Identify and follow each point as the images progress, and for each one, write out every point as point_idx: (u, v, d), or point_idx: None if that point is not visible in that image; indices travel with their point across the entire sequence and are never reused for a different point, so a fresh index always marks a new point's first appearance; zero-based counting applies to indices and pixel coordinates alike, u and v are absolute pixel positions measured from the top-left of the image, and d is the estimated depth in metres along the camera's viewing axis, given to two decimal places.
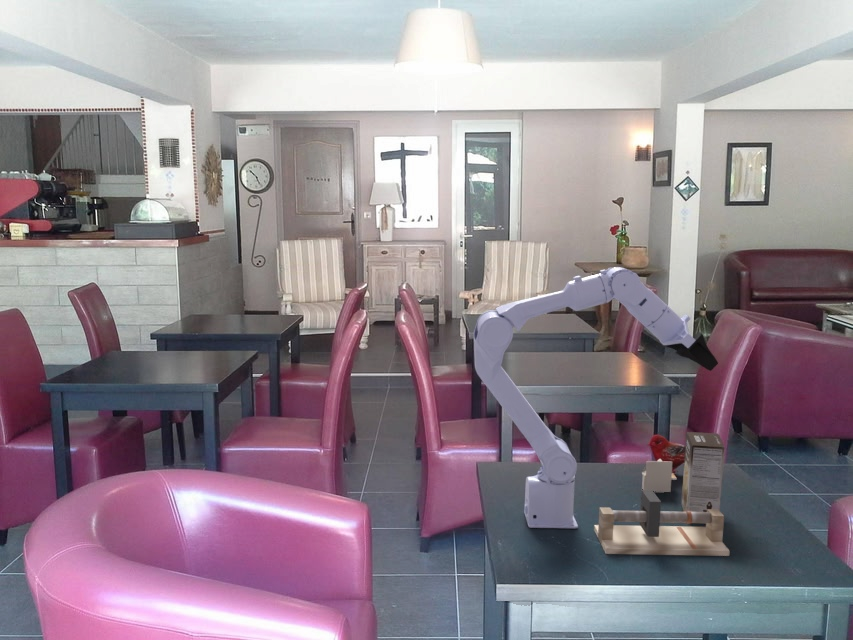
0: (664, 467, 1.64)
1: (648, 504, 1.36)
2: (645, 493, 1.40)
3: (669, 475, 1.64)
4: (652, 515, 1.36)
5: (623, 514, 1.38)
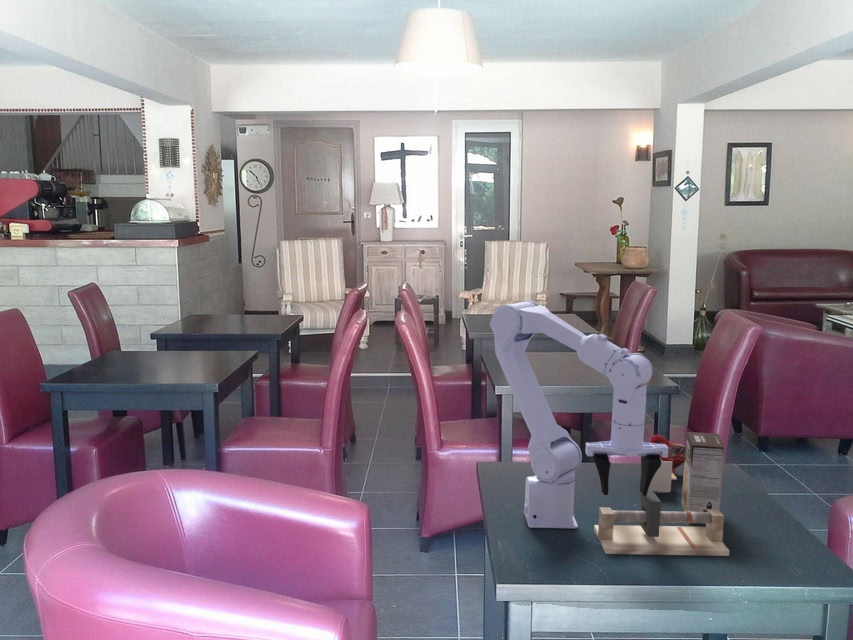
0: (664, 467, 1.64)
1: (648, 504, 1.36)
2: None
3: (669, 475, 1.64)
4: (652, 515, 1.36)
5: (623, 514, 1.38)
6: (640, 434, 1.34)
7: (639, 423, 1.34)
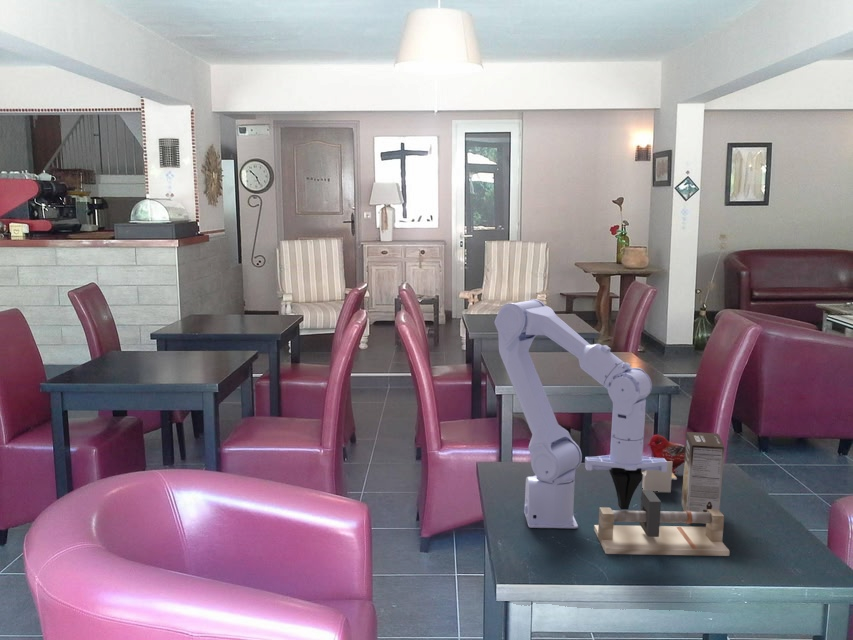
0: None
1: (648, 504, 1.36)
2: (645, 493, 1.40)
3: (669, 475, 1.64)
4: (652, 515, 1.36)
5: (623, 514, 1.38)
6: (639, 449, 1.35)
7: (638, 438, 1.34)
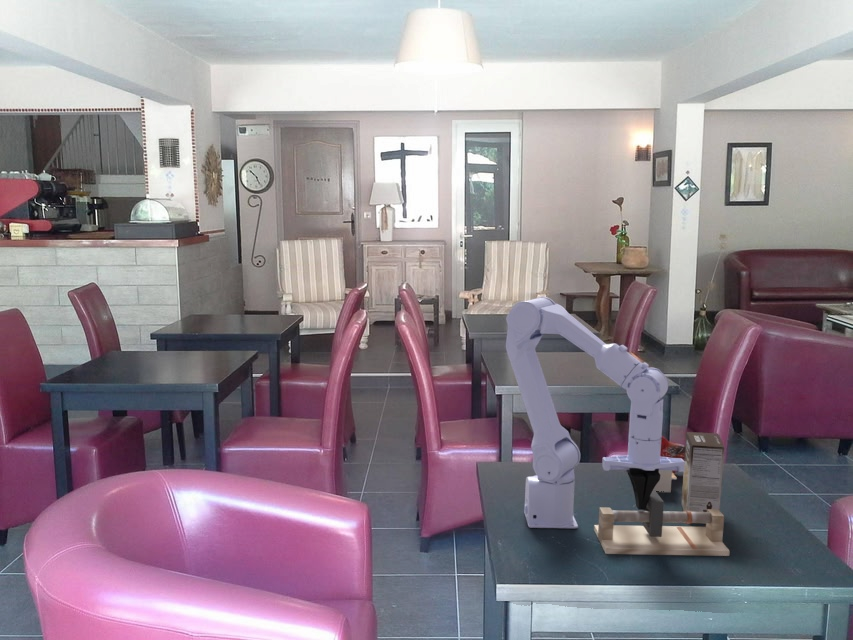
0: None
1: (651, 504, 1.36)
2: None
3: (669, 475, 1.64)
4: (654, 515, 1.36)
5: (623, 514, 1.38)
6: (657, 449, 1.35)
7: (658, 438, 1.34)
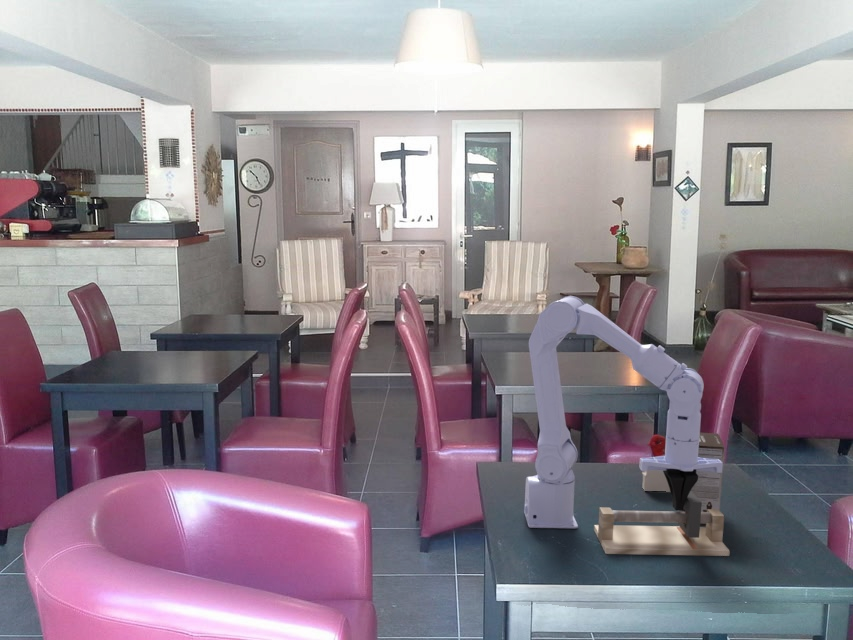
0: None
1: (689, 505, 1.36)
2: None
3: None
4: (692, 515, 1.36)
5: (623, 514, 1.38)
6: (695, 450, 1.35)
7: (697, 438, 1.35)
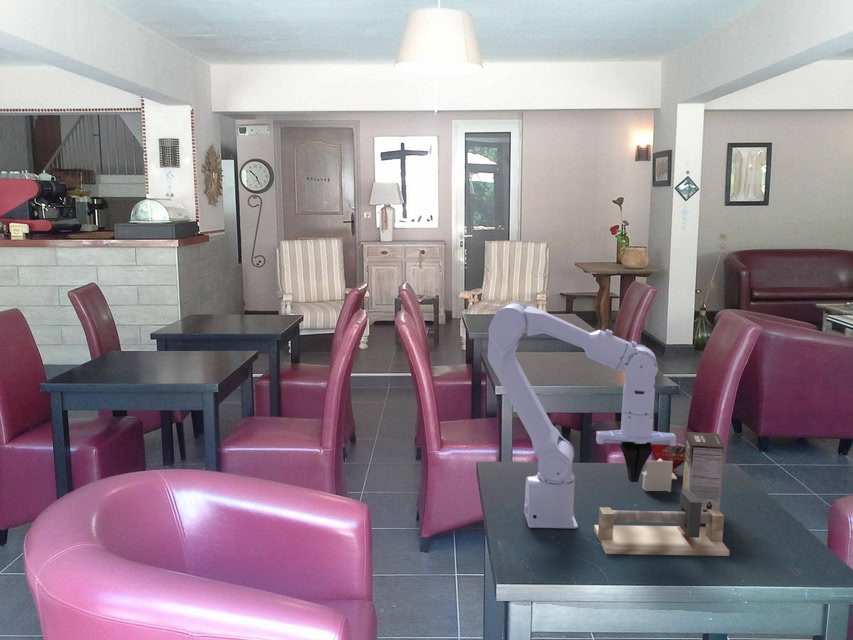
0: (664, 467, 1.64)
1: (689, 505, 1.36)
2: (684, 494, 1.40)
3: (669, 474, 1.64)
4: (692, 515, 1.36)
5: (623, 514, 1.38)
6: (649, 423, 1.40)
7: (652, 411, 1.40)
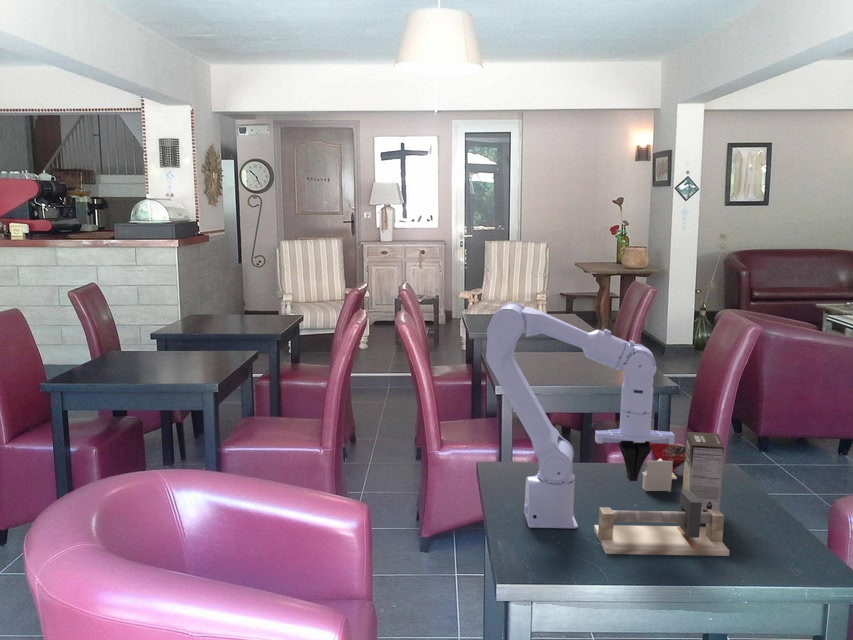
0: (664, 466, 1.64)
1: (689, 505, 1.36)
2: (684, 494, 1.40)
3: (669, 474, 1.64)
4: (692, 515, 1.36)
5: (623, 514, 1.38)
6: (647, 422, 1.40)
7: (651, 410, 1.41)
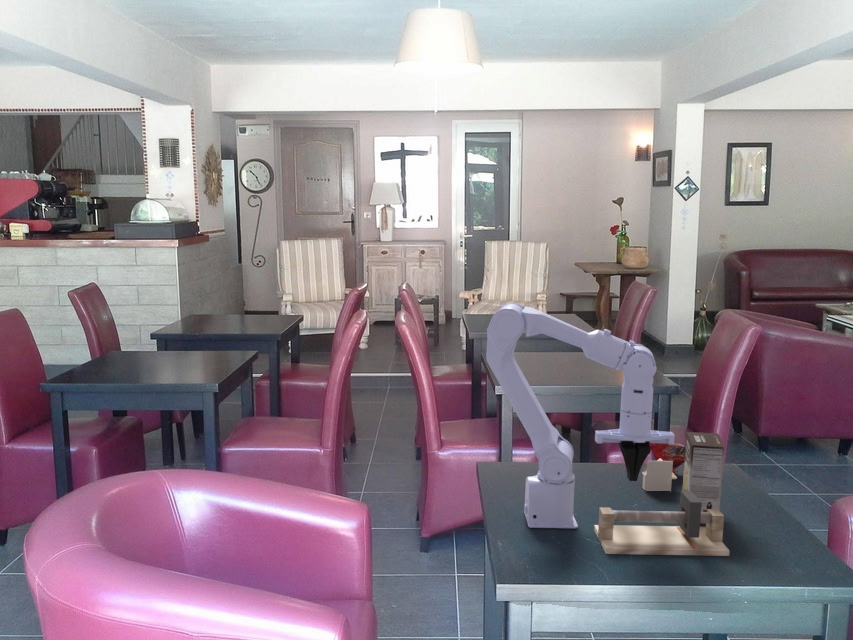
0: (665, 466, 1.64)
1: (689, 505, 1.36)
2: (684, 494, 1.40)
3: (669, 474, 1.64)
4: (692, 515, 1.36)
5: (623, 514, 1.38)
6: (647, 422, 1.40)
7: (651, 410, 1.41)
